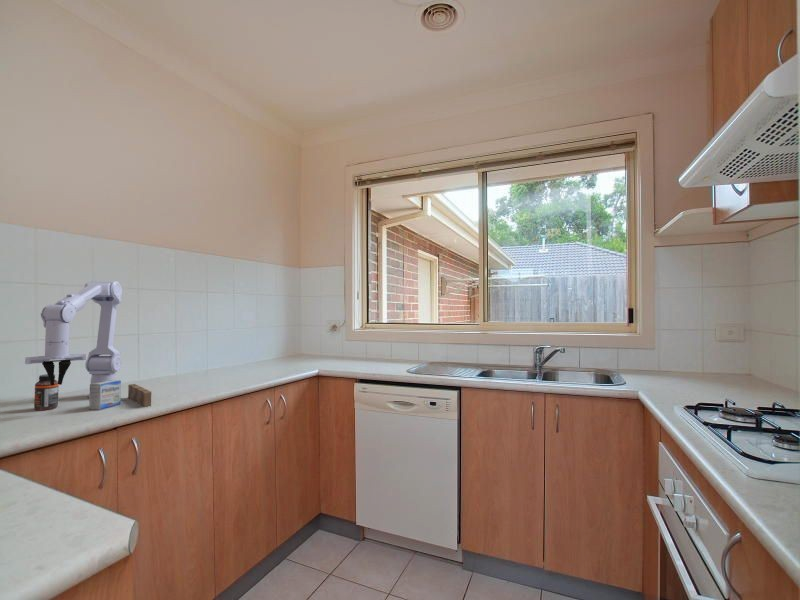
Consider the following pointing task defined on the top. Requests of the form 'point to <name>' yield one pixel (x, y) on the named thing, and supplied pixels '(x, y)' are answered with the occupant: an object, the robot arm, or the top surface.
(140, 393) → the walnut board
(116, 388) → the medicine box
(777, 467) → the top surface
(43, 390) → the supplement bottle
